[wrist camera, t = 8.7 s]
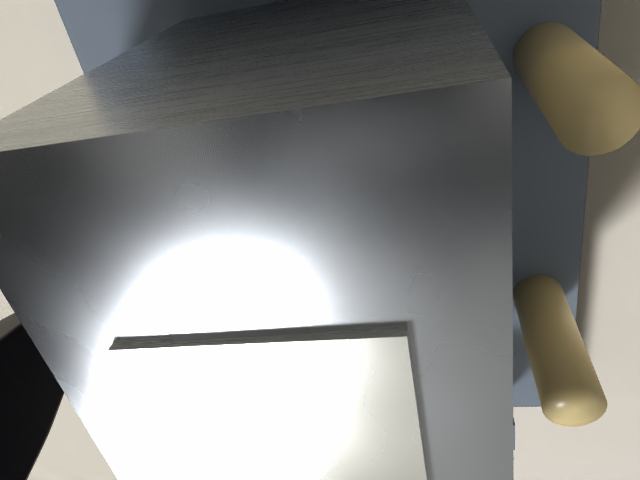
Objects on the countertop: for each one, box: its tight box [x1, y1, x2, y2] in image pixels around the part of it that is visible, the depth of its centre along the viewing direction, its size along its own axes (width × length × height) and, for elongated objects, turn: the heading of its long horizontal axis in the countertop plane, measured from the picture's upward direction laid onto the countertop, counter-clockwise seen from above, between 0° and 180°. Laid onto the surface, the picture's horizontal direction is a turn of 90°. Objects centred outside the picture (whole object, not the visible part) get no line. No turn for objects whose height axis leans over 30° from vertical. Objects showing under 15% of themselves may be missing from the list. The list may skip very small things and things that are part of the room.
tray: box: [54, 0, 640, 450], centre depth 10 cm, size 12×9×4 cm
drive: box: [0, 0, 513, 480], centre depth 8 cm, size 8×4×6 cm, turn 11°
